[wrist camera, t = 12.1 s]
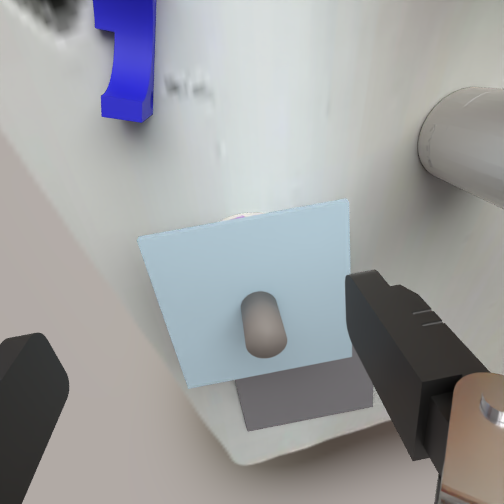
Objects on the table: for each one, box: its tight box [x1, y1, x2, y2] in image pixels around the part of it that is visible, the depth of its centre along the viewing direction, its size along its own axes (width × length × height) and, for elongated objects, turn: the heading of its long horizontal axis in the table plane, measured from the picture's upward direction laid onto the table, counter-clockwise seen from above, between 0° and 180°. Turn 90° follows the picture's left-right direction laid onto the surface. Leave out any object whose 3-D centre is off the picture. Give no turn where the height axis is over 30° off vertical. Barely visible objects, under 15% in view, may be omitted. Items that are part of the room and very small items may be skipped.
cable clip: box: [93, 0, 156, 123], centre depth 27 cm, size 12×4×6 cm, turn 171°
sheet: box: [137, 199, 352, 389], centre depth 32 cm, size 18×18×6 cm
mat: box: [235, 345, 373, 431], centre depth 50 cm, size 20×20×1 cm
